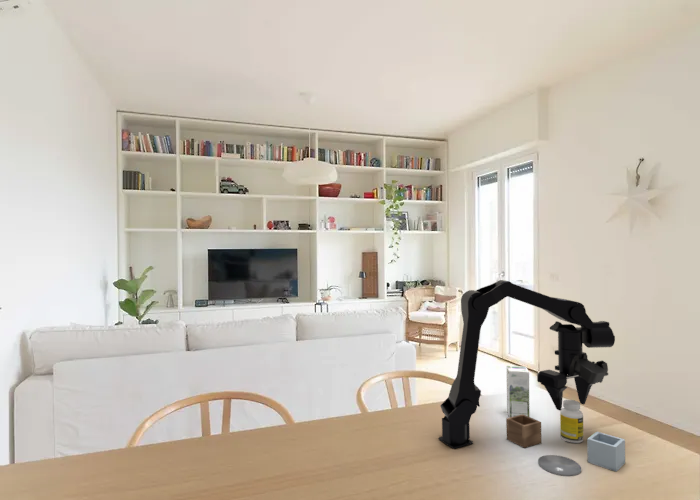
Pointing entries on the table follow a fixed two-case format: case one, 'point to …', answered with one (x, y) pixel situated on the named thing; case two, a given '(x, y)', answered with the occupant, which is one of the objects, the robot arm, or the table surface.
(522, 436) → the walnut box
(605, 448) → the slate cup
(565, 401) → the supplement bottle
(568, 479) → the table surface
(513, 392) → the syrup box
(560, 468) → the coaster
